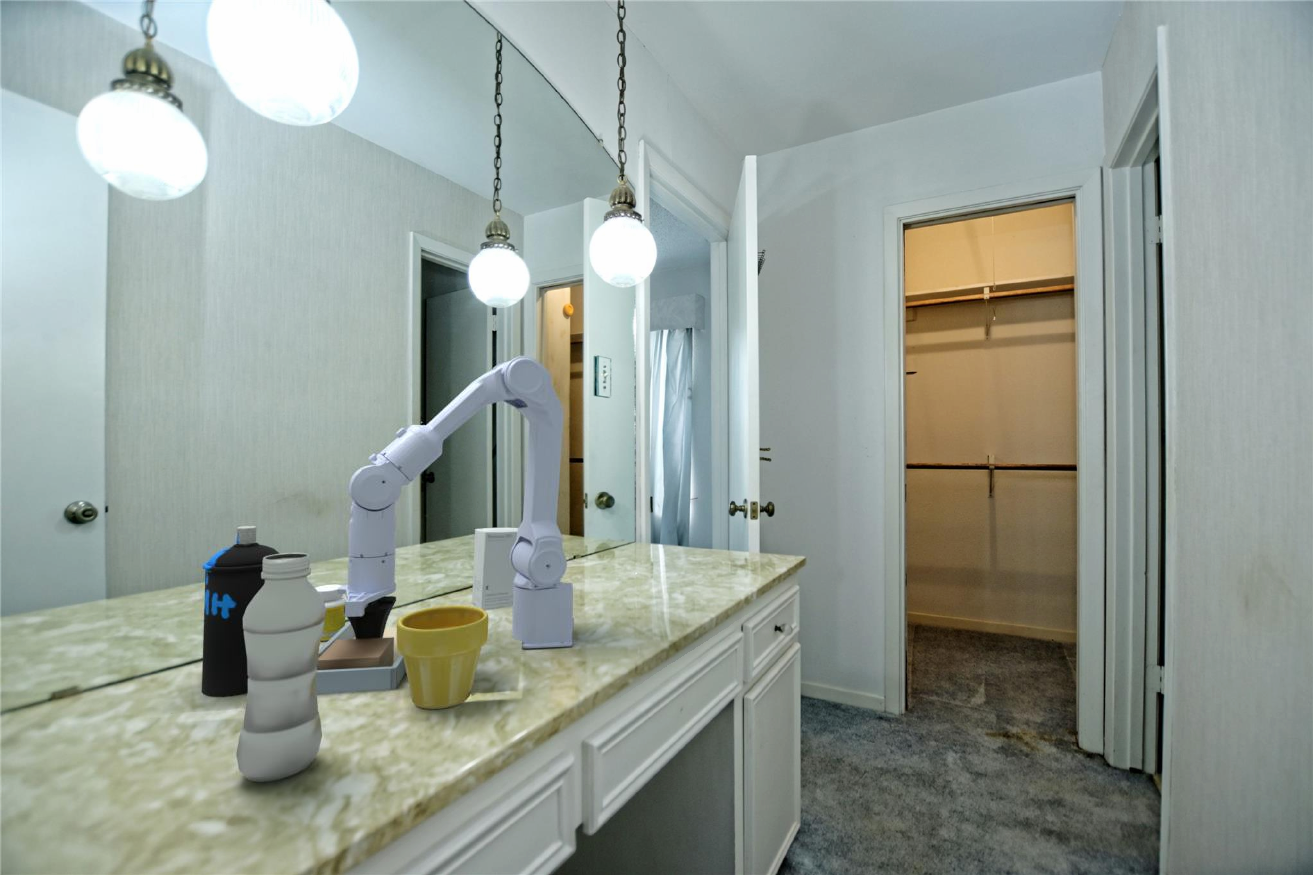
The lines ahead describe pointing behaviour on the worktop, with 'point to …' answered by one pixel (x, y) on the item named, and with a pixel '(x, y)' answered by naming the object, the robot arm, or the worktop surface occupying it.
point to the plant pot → (441, 652)
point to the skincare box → (493, 568)
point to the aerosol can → (230, 612)
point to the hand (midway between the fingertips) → (369, 654)
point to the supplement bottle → (332, 611)
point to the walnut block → (358, 654)
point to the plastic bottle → (282, 671)
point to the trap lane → (360, 670)
